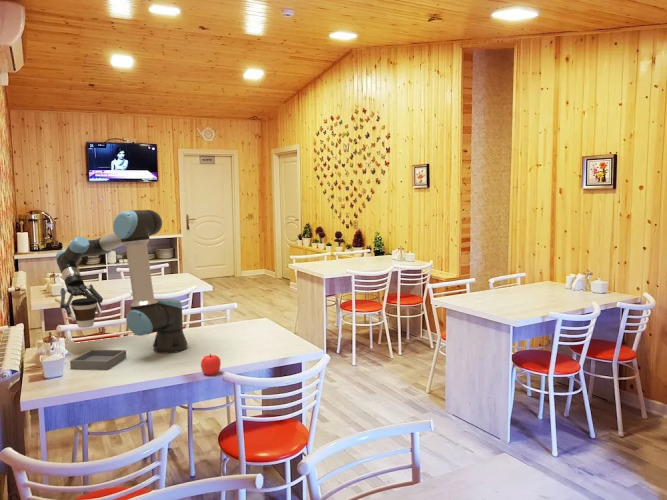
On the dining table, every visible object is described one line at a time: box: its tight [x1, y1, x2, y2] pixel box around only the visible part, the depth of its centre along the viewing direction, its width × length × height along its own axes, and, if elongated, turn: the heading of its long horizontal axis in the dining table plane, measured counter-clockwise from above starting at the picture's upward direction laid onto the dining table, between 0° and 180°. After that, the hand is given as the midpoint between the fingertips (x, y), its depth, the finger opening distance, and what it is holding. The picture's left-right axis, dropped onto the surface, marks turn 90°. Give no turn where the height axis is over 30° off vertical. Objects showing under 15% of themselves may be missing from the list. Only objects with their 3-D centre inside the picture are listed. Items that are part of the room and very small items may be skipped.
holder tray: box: [69, 349, 127, 371], centre depth 231 cm, size 16×16×4 cm
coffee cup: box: [70, 297, 98, 329], centre depth 245 cm, size 11×11×12 cm
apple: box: [200, 353, 221, 376], centre depth 216 cm, size 8×8×8 cm
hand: (87, 316), depth 243 cm, fingers closed on coffee cup, 11 cm apart
